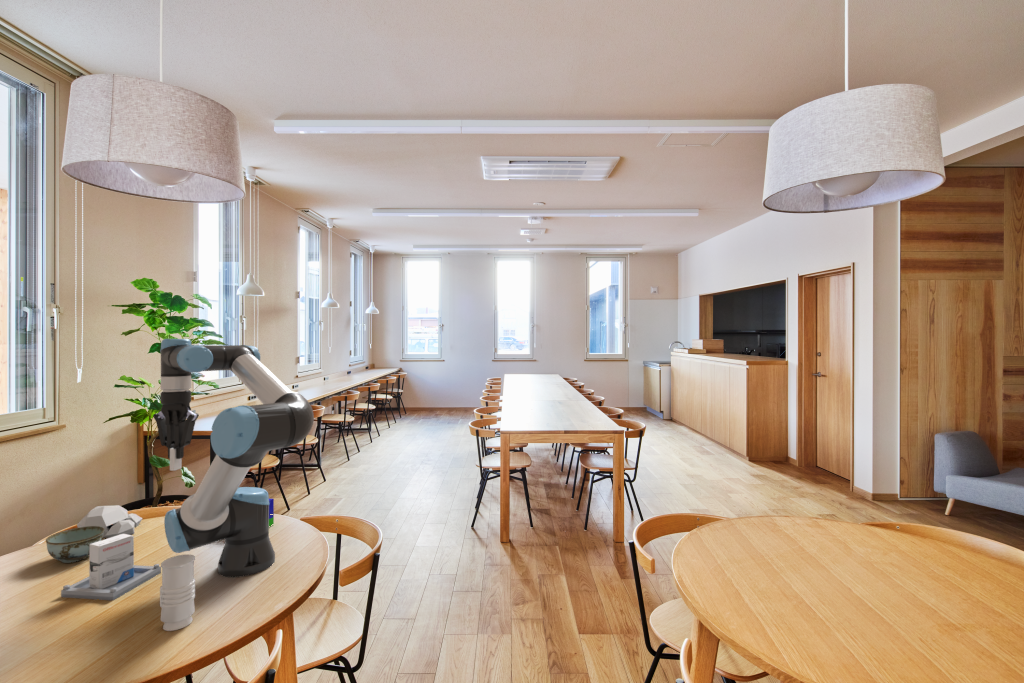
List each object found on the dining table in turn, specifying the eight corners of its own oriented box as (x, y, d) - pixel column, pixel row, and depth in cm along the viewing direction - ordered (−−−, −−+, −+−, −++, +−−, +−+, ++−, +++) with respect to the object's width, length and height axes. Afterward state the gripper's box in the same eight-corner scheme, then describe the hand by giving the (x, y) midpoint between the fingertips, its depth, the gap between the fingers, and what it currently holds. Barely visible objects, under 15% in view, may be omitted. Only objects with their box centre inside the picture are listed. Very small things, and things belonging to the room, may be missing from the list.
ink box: (123, 573, 138) (124, 532, 138) (134, 576, 136) (134, 534, 136) (88, 587, 130) (88, 543, 130) (98, 591, 128) (99, 546, 128)
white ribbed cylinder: (157, 623, 115) (157, 560, 115) (191, 611, 120) (191, 551, 120) (162, 635, 110) (162, 570, 110) (198, 623, 115) (198, 560, 115)
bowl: (32, 567, 143) (33, 540, 143) (82, 548, 156) (82, 523, 157) (67, 572, 140) (67, 545, 140) (115, 553, 153) (115, 527, 153)
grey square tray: (160, 573, 140) (160, 563, 140) (113, 600, 125) (113, 590, 125) (113, 571, 141) (113, 561, 141) (61, 597, 126) (61, 587, 126)
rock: (143, 520, 182) (143, 494, 182) (141, 537, 166) (141, 509, 166) (78, 531, 171) (79, 504, 171) (70, 550, 155) (70, 520, 155)
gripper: (205, 389, 146) (205, 466, 146) (166, 388, 148) (165, 465, 147) (186, 391, 139) (186, 473, 139) (145, 391, 140) (144, 472, 140)
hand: (175, 469), depth 143 cm, fingers closed
